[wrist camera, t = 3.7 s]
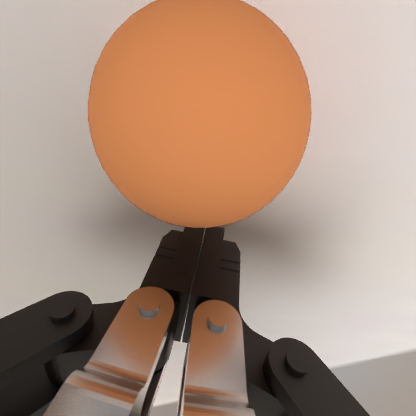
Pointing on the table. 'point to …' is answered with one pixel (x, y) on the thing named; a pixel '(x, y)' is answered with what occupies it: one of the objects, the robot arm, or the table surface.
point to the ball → (199, 111)
